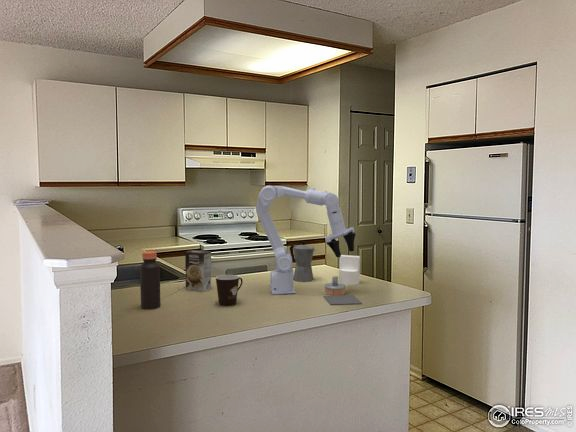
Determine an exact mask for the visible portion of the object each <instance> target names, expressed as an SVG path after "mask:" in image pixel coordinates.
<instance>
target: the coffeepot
mask: <svg viewBox="0 0 576 432" xmlns="http://www.w3.org/2000/svg"><path fill="white" fill-rule="evenodd" d="M314 251H316V249H315V247H313V246H310V245H307V244H306V241H305V240H301V244H300V245H298V244H292V243H291V245H290V246H289V252H290V253H289V254H290V255H291V256H292V263H295V268H294V271H293V281H295V282H299V283H307V282H313V281H314V273H313V267H312V261H313V256H314Z"/></svg>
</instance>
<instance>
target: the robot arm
mask: <svg viewBox="0 0 576 432" xmlns="http://www.w3.org/2000/svg"><path fill="white" fill-rule="evenodd" d="M284 196H285V197H291V198H298V199H301V200H304V201H305V202H306V204H311V205H316V206H321V207H322V206H325V208H326V215H327V219H328V222H329V226H330V229H331V234H330V235H328V236H325V238H324V239H325V242H326V244H327V246H328V247H329V248H330V249H331V250H332V252H333V254H334V255H335V258H340V257H341V255H342V254H341V250H340V249H341V248H340V240H339V238H342V237H343V238H344V241H345V243H346V245H347V249H348V252H354V251H355V238H356V231H355V228H354V227H348V228H346V224H345V220H344V217H343V213H342V210H341V207H340V204H339V203H340V198H339V197H338V196H337V194H335V193H332V192H328V190H324V191H322V190H317V189H316V188H314V187H312V188H309V189H307V190H305V191H304V190H301V189H297V188H292V187H288V186H282V185H265V186H263V187H262V188H261V190H260V192H259V193H258V195H257V202H256V207H255V211H256V214H257V216H258V220H259V221H260V223H261V226H262V227H263V230H264V232H265V235H266V237H267V239H268V241H269V243H270V246H271V249H272V251H273V253H274V257H275V259H276V267H275V269H274V270H271V271H270V277H269V278H270V280H269V281H270V284H269V290H270V292H271V294H272V295H281V294H282V295H283V294H285V295H286V294H296V291H295V289H294V279H293V278H294V268H293V261H292V256H291V253H289V252H288V250H287V249H286V247H285V245H284V243H283V241H282V239H281V236H280V234H279V232H278V229H277V228H276V227H277V226H276V224H275V222H274V220H273V218H272V216H271V214H270V212H269V209H270V207H271V204H272V202H273V201H274V200H275V199H276V198H282V197H284ZM337 239H338V240H337Z"/></svg>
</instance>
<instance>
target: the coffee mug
mask: <svg viewBox="0 0 576 432" xmlns="http://www.w3.org/2000/svg"><path fill="white" fill-rule="evenodd" d="M215 281H216V282H215V283H216V290H217V298H218V299H217V300H218V305H219V306H223V307H232V306H235V305H237V300H238V293H239V292H238V291H239V290H240V289H241V287H242V285H243V278H242V277H240V276H239V275H236V274H222V275H217V276H215ZM239 281H240V282H239ZM239 283H240V285H239Z"/></svg>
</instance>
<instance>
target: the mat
mask: <svg viewBox="0 0 576 432" xmlns="http://www.w3.org/2000/svg"><path fill="white" fill-rule="evenodd" d="M323 298H324V300H325V301H326V302H327V303H328V304H329V306H346V305H347V306H348V305H363V302H362V301H360V299H359V298H357V297H356V296H355V295H354V294H343V295H323Z"/></svg>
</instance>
